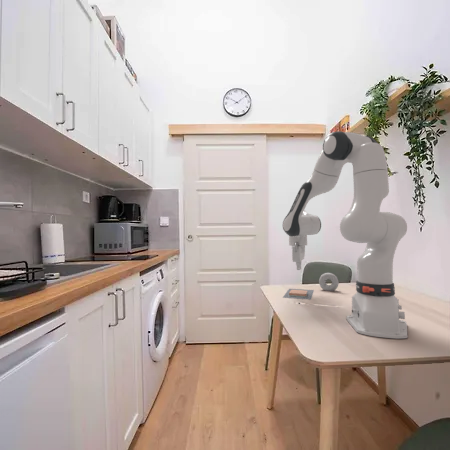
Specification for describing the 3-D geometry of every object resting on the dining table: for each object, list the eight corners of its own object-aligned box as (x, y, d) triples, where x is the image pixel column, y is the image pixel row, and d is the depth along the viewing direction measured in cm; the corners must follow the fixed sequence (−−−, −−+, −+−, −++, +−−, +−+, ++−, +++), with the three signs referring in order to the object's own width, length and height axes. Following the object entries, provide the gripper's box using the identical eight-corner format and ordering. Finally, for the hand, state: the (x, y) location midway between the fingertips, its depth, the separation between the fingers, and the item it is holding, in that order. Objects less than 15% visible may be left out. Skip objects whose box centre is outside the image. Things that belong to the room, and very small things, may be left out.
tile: (307, 293, 142) (306, 297, 134) (291, 292, 145) (289, 295, 137) (307, 290, 142) (306, 294, 135) (291, 289, 145) (289, 292, 137)
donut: (318, 291, 150) (318, 272, 151) (319, 289, 153) (319, 271, 154) (338, 293, 145) (338, 273, 146) (339, 291, 148) (339, 272, 149)
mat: (310, 300, 130) (310, 299, 130) (282, 298, 134) (282, 297, 134) (313, 291, 150) (313, 290, 150) (289, 289, 155) (289, 288, 155)
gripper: (302, 242, 130) (303, 272, 129) (306, 241, 149) (307, 267, 148) (288, 242, 132) (289, 271, 132) (294, 241, 151) (295, 267, 151)
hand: (298, 269), depth 140 cm, fingers closed
